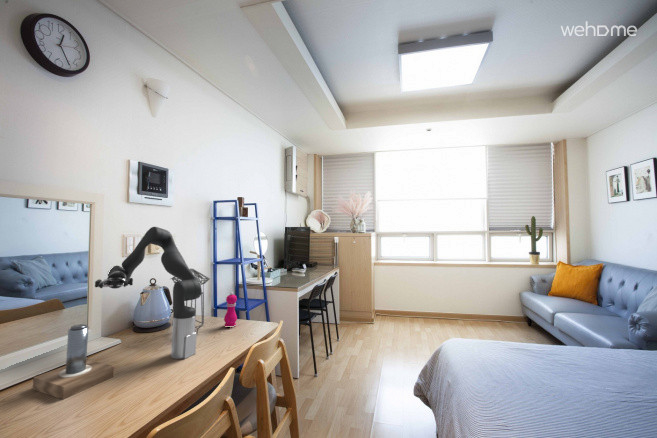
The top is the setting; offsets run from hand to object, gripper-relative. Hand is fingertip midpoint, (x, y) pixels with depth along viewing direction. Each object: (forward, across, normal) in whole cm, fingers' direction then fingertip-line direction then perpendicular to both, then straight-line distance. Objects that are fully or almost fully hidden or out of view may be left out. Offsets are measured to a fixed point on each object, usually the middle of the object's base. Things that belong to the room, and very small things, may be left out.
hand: (113, 285), depth 131 cm
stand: (+25, -7, +30) cm, 40 cm away
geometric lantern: (-11, +33, +30) cm, 46 cm away
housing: (+25, -7, +26) cm, 36 cm away
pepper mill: (-13, +56, +30) cm, 65 cm away
